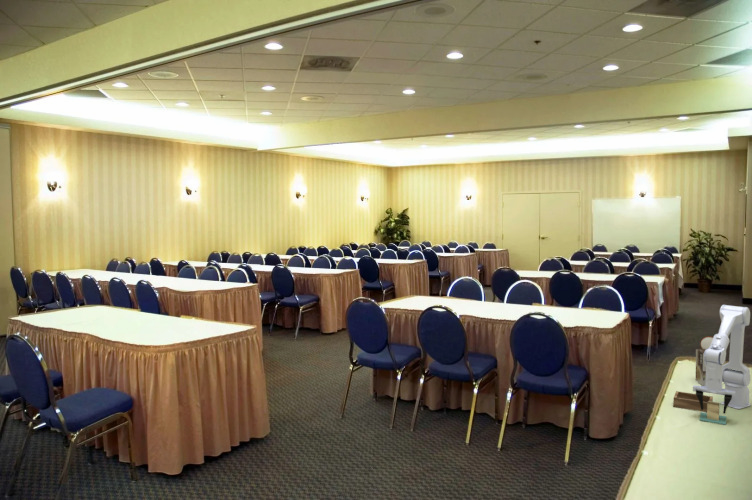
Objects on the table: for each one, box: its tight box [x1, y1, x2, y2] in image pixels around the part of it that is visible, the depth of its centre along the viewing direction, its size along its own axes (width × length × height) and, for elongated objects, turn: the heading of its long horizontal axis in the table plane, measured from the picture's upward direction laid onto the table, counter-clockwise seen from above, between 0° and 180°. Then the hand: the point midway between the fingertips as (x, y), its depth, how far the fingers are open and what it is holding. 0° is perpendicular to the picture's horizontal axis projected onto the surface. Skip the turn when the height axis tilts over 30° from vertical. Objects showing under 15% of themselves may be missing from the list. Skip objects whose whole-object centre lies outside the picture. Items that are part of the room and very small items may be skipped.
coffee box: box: [695, 348, 706, 386], centre depth 265 cm, size 9×6×16 cm
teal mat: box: [699, 411, 727, 426], centre depth 222 cm, size 9×9×1 cm
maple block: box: [706, 401, 720, 420], centre depth 221 cm, size 4×4×6 cm
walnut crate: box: [672, 390, 714, 413], centre depth 236 cm, size 10×14×4 cm
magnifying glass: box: [699, 335, 714, 349], centre depth 277 cm, size 9×2×20 cm, turn 53°
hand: (713, 410), depth 221 cm, fingers open, 7 cm apart
